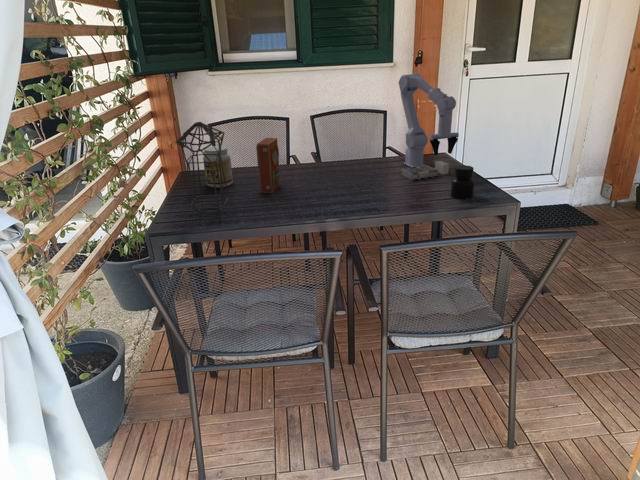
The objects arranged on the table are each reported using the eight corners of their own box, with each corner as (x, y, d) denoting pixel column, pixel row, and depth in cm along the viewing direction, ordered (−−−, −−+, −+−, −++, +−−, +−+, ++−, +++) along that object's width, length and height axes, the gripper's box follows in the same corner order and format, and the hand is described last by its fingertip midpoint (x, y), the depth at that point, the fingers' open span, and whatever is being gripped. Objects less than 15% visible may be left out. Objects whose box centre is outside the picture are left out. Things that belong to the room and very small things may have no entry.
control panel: (282, 184, 209) (273, 194, 196) (268, 183, 211) (257, 193, 197) (279, 137, 201) (269, 144, 187) (264, 137, 202) (253, 144, 189)
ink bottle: (477, 195, 186) (480, 166, 182) (470, 201, 180) (473, 171, 175) (453, 191, 192) (456, 163, 187) (446, 197, 185) (448, 168, 180)
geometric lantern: (233, 205, 185) (224, 117, 170) (227, 220, 170) (216, 126, 155) (194, 206, 184) (181, 118, 169) (185, 221, 170) (170, 127, 155)
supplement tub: (201, 187, 209) (196, 150, 202) (214, 180, 219) (210, 144, 212) (225, 189, 205) (221, 151, 198) (237, 181, 216) (233, 145, 209)
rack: (400, 175, 216) (401, 168, 215) (426, 171, 221) (426, 165, 219) (411, 180, 208) (411, 173, 207) (438, 176, 212) (438, 170, 211)
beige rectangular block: (434, 171, 220) (435, 161, 218) (439, 170, 221) (440, 160, 219) (442, 175, 214) (443, 164, 212) (448, 174, 215) (449, 164, 213)
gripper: (436, 127, 203) (434, 157, 208) (463, 124, 207) (460, 154, 213) (427, 125, 209) (425, 154, 215) (454, 122, 213) (452, 151, 219)
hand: (442, 154), depth 214 cm, fingers open, 7 cm apart
